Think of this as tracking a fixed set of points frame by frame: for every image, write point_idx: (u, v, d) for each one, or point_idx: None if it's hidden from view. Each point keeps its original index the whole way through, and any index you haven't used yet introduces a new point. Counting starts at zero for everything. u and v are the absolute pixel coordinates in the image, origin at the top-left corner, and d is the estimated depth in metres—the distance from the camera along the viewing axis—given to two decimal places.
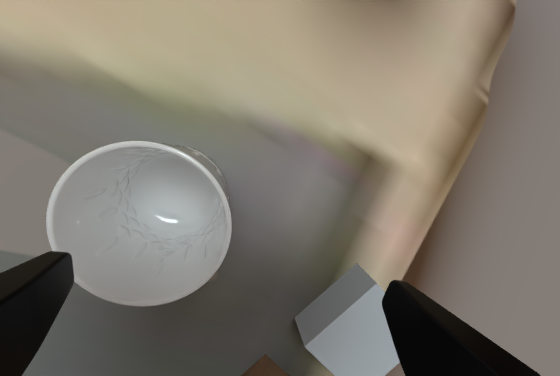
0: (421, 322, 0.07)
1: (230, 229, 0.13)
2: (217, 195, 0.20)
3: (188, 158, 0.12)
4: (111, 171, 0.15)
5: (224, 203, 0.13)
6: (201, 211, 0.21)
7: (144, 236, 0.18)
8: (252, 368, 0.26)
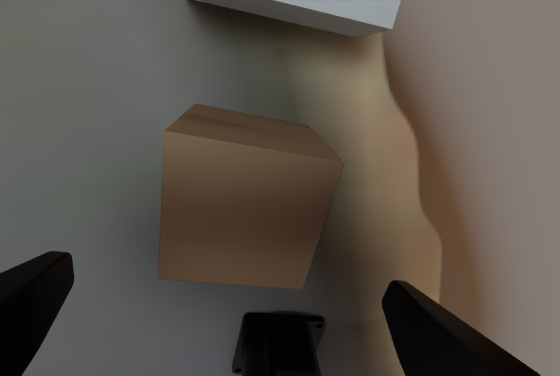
0: (421, 322, 0.07)
1: None
2: None
3: None
4: None
5: None
6: None
7: None
8: None
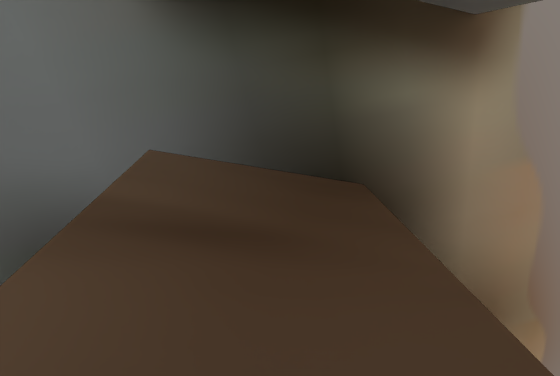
0: None
1: None
2: None
3: None
4: None
5: None
6: None
7: None
8: None
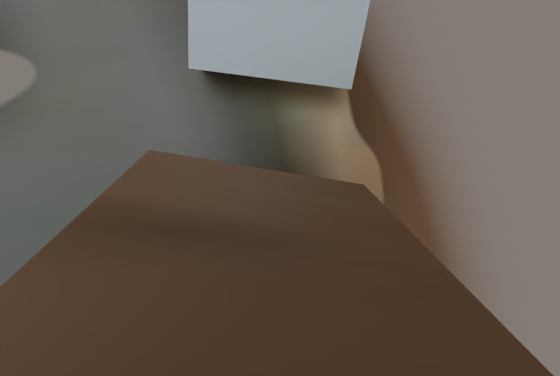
0: None
1: None
2: None
3: None
4: None
5: None
6: None
7: None
8: None
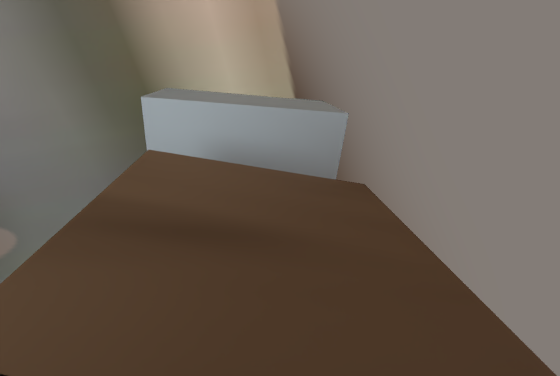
0: None
1: None
2: None
3: None
4: None
5: None
6: None
7: None
8: None
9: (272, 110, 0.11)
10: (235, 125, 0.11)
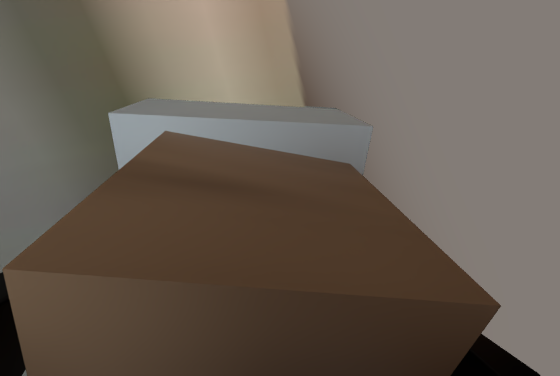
0: None
1: None
2: None
3: None
4: None
5: None
6: None
7: None
8: None
9: (277, 125, 0.08)
10: None
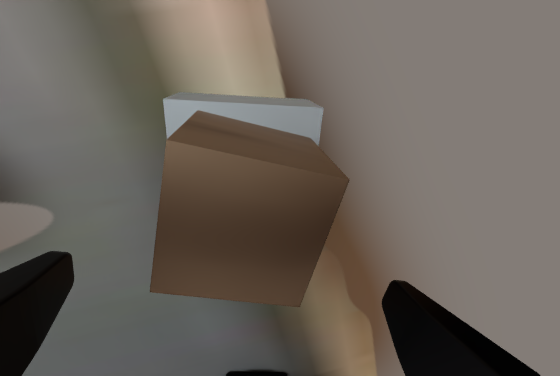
0: (421, 322, 0.07)
1: None
2: None
3: None
4: None
5: None
6: None
7: None
8: None
9: (263, 106, 0.14)
10: None
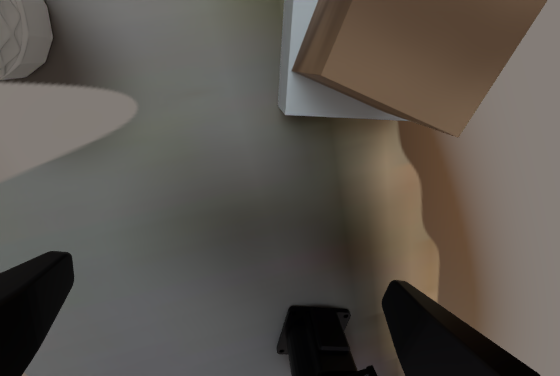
0: (421, 322, 0.07)
1: None
2: None
3: None
4: None
5: None
6: None
7: None
8: None
9: None
10: None
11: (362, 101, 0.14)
